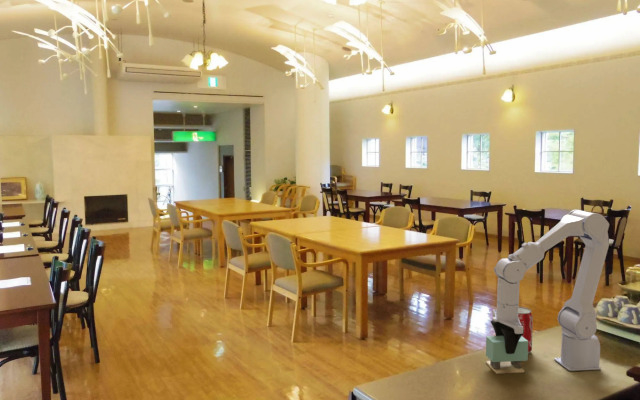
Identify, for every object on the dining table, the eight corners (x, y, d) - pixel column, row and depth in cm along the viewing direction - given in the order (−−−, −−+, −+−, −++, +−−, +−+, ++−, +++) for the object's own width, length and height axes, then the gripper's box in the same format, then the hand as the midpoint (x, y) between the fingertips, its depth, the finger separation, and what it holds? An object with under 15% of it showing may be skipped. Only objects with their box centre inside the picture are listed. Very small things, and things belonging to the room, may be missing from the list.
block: (492, 362, 141) (493, 342, 141) (485, 355, 146) (486, 336, 145) (527, 360, 142) (528, 341, 142) (519, 353, 147) (520, 334, 146)
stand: (512, 361, 149) (512, 351, 148) (524, 372, 142) (524, 361, 142) (485, 362, 148) (486, 352, 148) (496, 373, 141) (496, 363, 141)
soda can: (533, 356, 152) (535, 314, 151) (508, 355, 154) (509, 312, 152) (529, 347, 159) (530, 306, 158) (504, 345, 160) (506, 305, 159)
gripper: (483, 295, 149) (481, 340, 151) (505, 311, 135) (504, 360, 136) (506, 294, 150) (504, 339, 151) (531, 310, 136) (529, 359, 137)
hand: (505, 349), depth 144 cm, fingers closed on block, 4 cm apart
